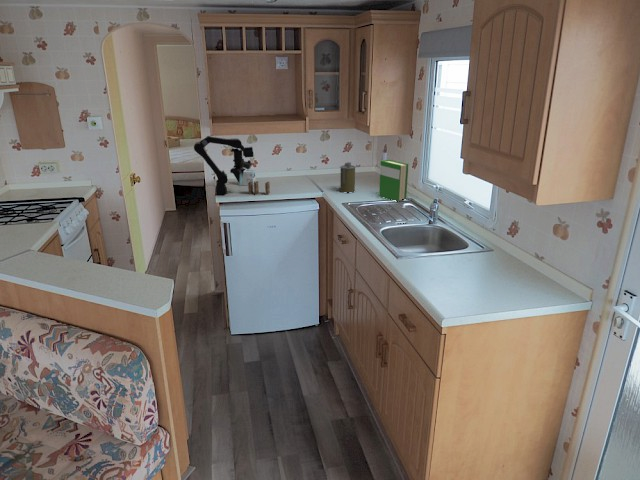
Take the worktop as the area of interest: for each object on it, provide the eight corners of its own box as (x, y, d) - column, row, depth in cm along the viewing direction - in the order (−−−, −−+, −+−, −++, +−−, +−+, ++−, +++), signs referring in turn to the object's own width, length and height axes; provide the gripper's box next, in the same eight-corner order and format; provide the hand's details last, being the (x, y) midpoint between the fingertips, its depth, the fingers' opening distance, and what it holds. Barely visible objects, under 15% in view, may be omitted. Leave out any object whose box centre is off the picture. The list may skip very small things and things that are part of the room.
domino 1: (248, 194, 316) (248, 182, 313) (250, 192, 320) (250, 181, 318) (251, 194, 316) (250, 182, 313) (253, 192, 320) (252, 181, 317)
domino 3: (265, 194, 314) (265, 183, 311) (267, 192, 319) (267, 181, 316) (268, 195, 314) (267, 183, 311) (269, 193, 318) (269, 181, 316)
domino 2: (254, 194, 315) (253, 183, 312) (256, 192, 320) (255, 181, 317) (256, 194, 315) (256, 183, 312) (258, 192, 320) (258, 181, 317)
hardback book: (406, 200, 299) (408, 163, 291) (397, 202, 295) (400, 165, 287) (387, 194, 313) (388, 159, 304) (379, 196, 309) (380, 160, 300)
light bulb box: (256, 183, 343) (255, 169, 339) (253, 185, 337) (253, 171, 333) (242, 183, 344) (240, 169, 340) (239, 185, 338) (238, 171, 334)
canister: (344, 188, 328) (344, 160, 321) (357, 190, 323) (358, 162, 316) (337, 192, 319) (337, 163, 312) (350, 194, 314) (350, 165, 307)
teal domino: (237, 184, 315) (237, 172, 312) (240, 182, 319) (239, 171, 316) (240, 184, 314) (239, 172, 311) (242, 182, 319) (241, 171, 316)
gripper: (245, 160, 301) (247, 184, 306) (253, 155, 318) (255, 177, 323) (229, 160, 302) (231, 183, 308) (238, 155, 319) (239, 177, 325)
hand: (239, 180), depth 316 cm, fingers closed on teal domino, 5 cm apart
